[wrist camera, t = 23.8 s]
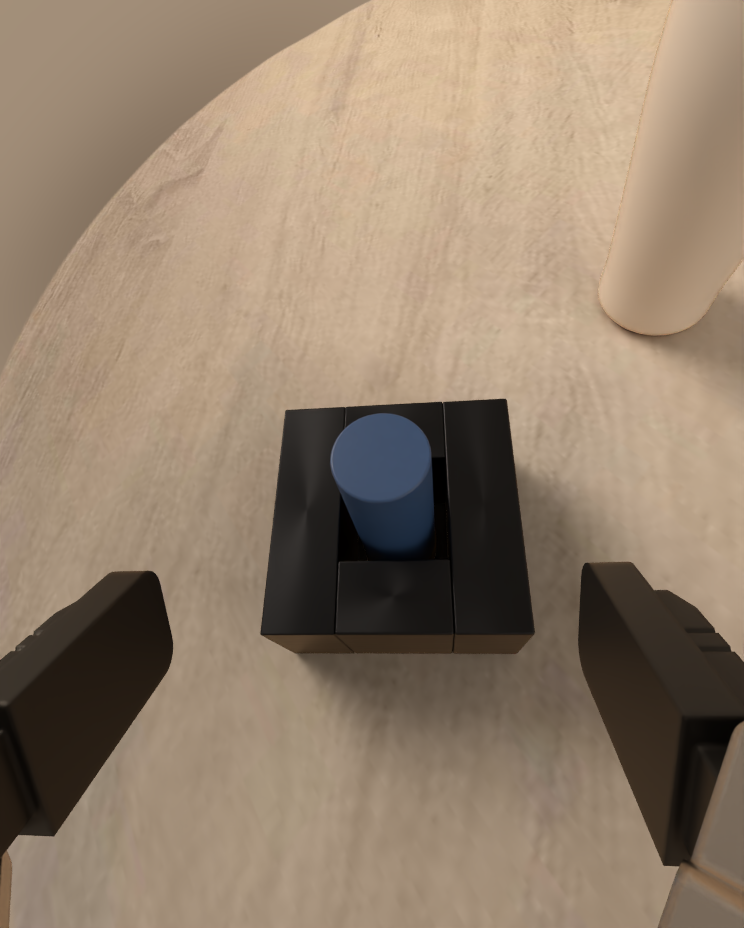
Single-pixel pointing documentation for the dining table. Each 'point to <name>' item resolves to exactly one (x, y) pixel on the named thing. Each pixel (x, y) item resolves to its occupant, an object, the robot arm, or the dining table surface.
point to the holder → (400, 581)
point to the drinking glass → (683, 176)
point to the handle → (387, 486)
